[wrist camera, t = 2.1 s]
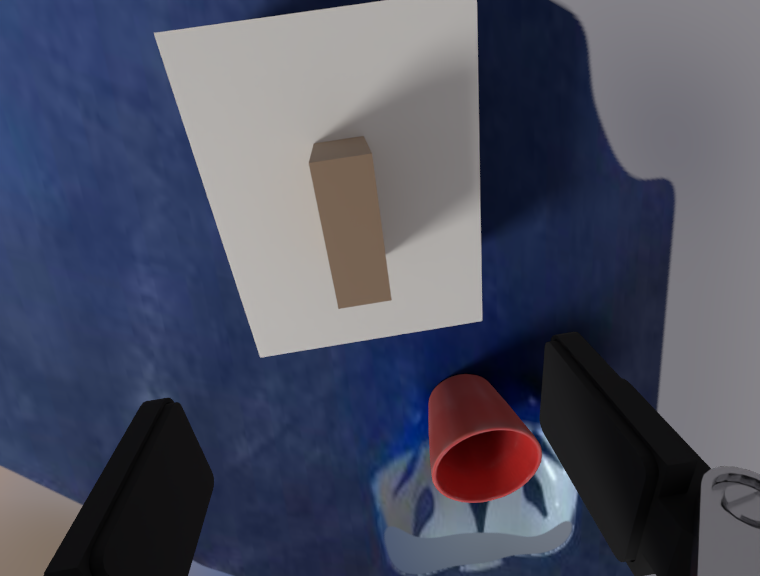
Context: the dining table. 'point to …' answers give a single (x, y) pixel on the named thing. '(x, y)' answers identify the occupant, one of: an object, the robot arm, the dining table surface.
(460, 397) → the flower pot
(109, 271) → the dining table surface
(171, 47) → the lid
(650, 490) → the robot arm
